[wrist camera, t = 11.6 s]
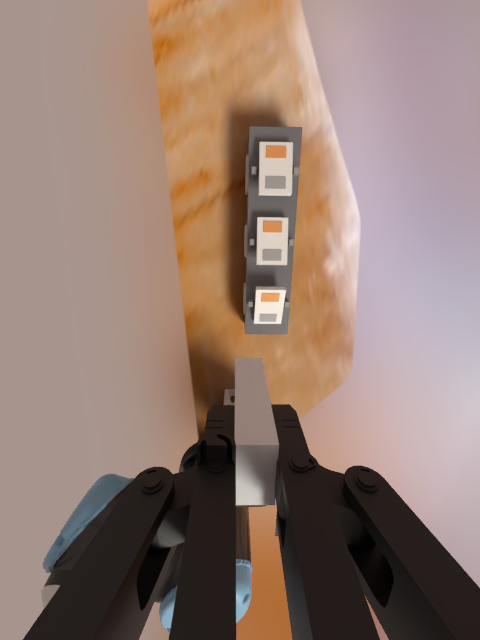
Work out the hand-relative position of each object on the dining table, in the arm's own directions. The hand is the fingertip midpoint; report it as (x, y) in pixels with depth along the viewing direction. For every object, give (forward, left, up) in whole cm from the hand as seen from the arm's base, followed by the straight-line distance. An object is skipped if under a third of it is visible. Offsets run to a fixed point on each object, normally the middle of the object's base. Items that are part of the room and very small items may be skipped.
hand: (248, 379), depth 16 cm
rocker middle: (+6, -4, -24) cm, 26 cm away
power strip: (+6, -4, -30) cm, 31 cm away
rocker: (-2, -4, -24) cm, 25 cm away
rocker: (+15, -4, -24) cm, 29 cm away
